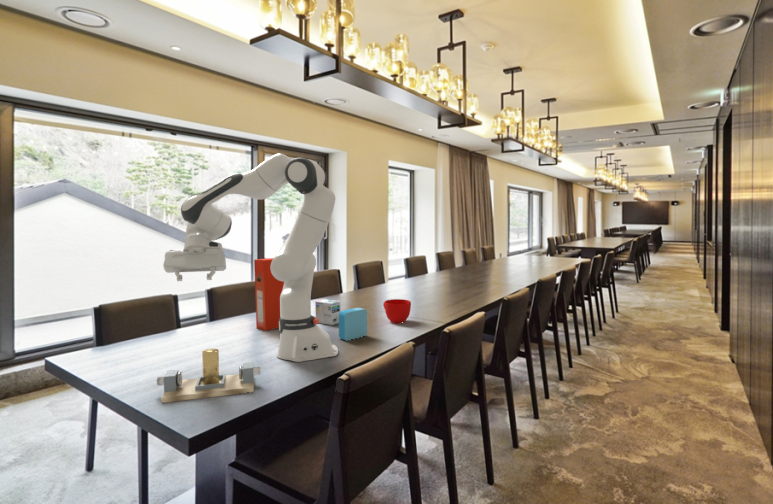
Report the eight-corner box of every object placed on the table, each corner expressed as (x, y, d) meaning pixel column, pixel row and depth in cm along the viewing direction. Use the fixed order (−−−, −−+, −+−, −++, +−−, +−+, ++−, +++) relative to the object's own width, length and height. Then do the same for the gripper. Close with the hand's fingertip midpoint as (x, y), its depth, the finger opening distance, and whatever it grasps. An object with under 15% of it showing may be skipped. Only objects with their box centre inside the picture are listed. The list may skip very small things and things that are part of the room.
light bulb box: (341, 322, 203) (340, 300, 202) (332, 325, 197) (331, 303, 196) (324, 320, 208) (323, 298, 207) (315, 322, 203) (314, 300, 202)
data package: (360, 334, 182) (360, 307, 182) (367, 336, 179) (367, 308, 178) (338, 339, 174) (338, 311, 173) (345, 341, 171) (345, 312, 170)
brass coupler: (219, 380, 126) (218, 348, 125) (218, 385, 122) (218, 352, 121) (203, 382, 125) (203, 349, 124) (202, 387, 120) (201, 353, 120)
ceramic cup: (393, 316, 216) (393, 297, 215) (416, 322, 203) (416, 302, 202) (374, 320, 208) (374, 300, 207) (396, 326, 195) (396, 305, 194)
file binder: (256, 328, 193) (254, 259, 190) (287, 321, 206) (285, 256, 203) (266, 331, 187) (264, 260, 185) (297, 323, 200) (295, 257, 198)
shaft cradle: (260, 376, 133) (259, 358, 133) (260, 391, 122) (260, 371, 121) (163, 387, 125) (162, 367, 124) (153, 403, 113) (152, 382, 113)
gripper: (164, 244, 147) (159, 275, 139) (225, 243, 153) (224, 272, 145) (167, 255, 152) (162, 286, 143) (227, 254, 158) (226, 283, 149)
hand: (194, 279), depth 144 cm, fingers open, 8 cm apart
